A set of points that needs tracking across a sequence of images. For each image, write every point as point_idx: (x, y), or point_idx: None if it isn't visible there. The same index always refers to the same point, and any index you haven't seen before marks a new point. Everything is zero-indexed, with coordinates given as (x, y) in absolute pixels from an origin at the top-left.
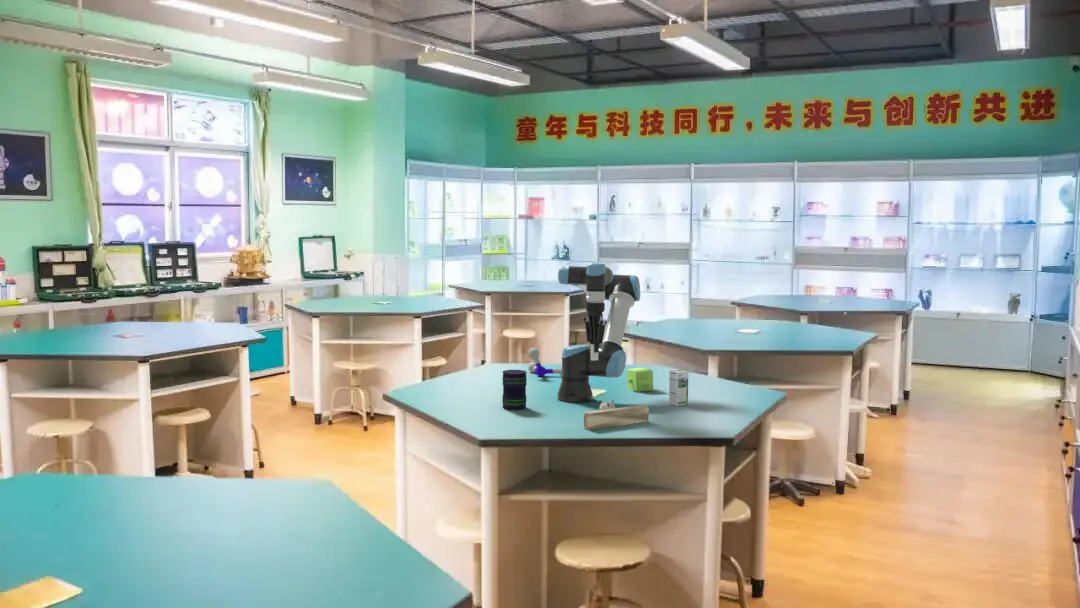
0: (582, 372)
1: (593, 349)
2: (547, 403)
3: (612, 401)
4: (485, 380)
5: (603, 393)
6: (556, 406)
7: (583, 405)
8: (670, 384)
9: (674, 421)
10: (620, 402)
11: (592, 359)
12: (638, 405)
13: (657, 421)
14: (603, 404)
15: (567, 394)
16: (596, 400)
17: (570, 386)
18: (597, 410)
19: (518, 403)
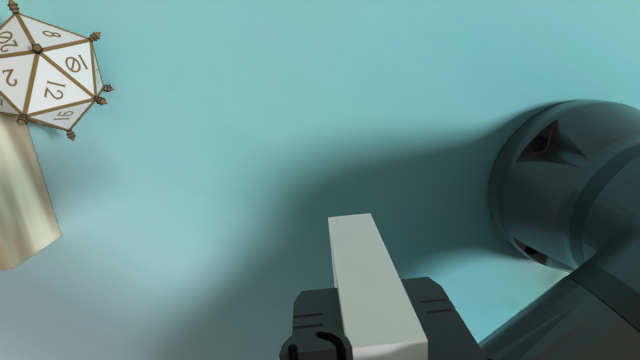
0: (607, 244)
1: (341, 299)
2: (561, 5)
3: (19, 116)
4: None
5: None
6: (476, 13)
7: (432, 151)
8: None
9: (12, 329)
10: None
11: (333, 221)
12: (1, 238)
13: (26, 274)
14: (6, 47)
15: (559, 124)
16: (494, 254)
17: (584, 149)
18: (10, 1)
19: None
